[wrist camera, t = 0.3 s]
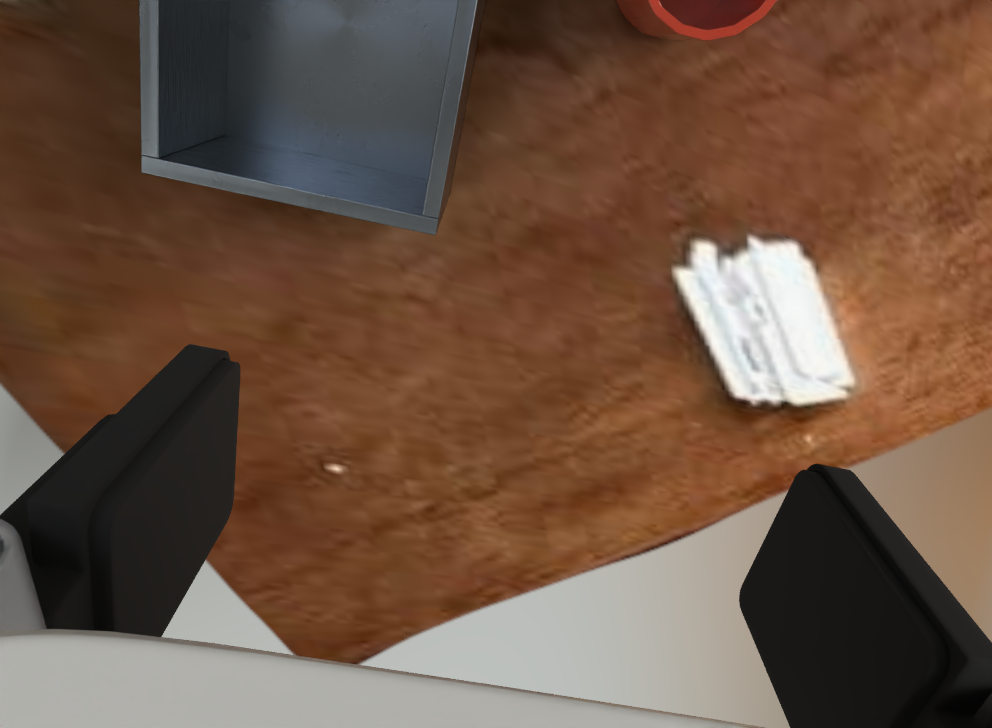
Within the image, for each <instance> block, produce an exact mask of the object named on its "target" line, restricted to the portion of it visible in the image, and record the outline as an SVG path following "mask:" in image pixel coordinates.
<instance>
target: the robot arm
mask: <svg viewBox="0 0 992 728" xmlns="http://www.w3.org/2000/svg"><path fill="white" fill-rule="evenodd" d="M239 388H240V365H239V363H238V362H233V361H230V357H229V354H228V352H227V351H223V350H218V349H213V348H207V347H202V346H197V345H191V344H189V345H188V346H186V347H185V348H184V349H183V350H182V351H181V352H180V353H179V354H178V355H177V356H176V357H175V358H174V359H172V360H171V361H170V362H169V363H168V364H167V365H166V366H165V367H164V368H163V369H162V370H161V371H160V372H159V373H158V374H157V375H156V376H155V377H154V378H153V379H152V380H151V381H150V382H149V383H148V384H147V385H146V386H145V387H144V388H143V389H142V390H140V391H139V392H138V393H137V394H136V395H135V396H134V397H133V398H132V399H131V400H130V401H129V402H128V403H127V404H126V405H125V406H124V407H123V408H122V409H121V410H120V411H119V412H118V413H117V414H112V415H107V416H106V417H104V418H103V419H102V420H100V421H99V422H98V423H97V424H96V425H95V426H94V427H93V428H92V429H91V430H90V431H89V432H88V433H87V434H85V435H84V436H83V437H82V438H81V439H80V440H79V441H78V442H77V443H76V444H75V445H74V446H73V447H72V448H71V449H70V450H69V451H67V452H66V453H65V454H64V455H63V456H62V457H61V458H60V459H59V460H58V461H57V462H56V463H55V464H54V465H53V466H52V467H51V468H50V469H49V470H47V472H45V473H44V474H43V475H42V476H41V477H40V478H39V479H38V480H37V481H36V482H35V483H34V484H33V485H32V486H31V487H29V488H28V489H27V490H26V491H25V492H24V493H23V494H22V495H21V496H20V497H19V498H18V499H17V500H16V501H15V502H14V503H13V504H12V505H10V506H9V507H8V508H7V509H6V510H5V511H4V512H3V513H2V514H1V515H0V728H763V727H758V726H751V725H745V724H739V723H733V722H726V721H721V720H714V719H708V718H702V717H696V716H689V715H682V714H676V713H670V712H663V711H656V710H651V709H644V708H637V707H632V706H625V705H619V704H612V703H606V702H600V701H592V700H587V699H580V698H574V697H567V696H560V695H554V694H548V693H541V692H534V691H528V690H521V689H515V688H509V687H503V686H495V685H489V684H483V683H476V682H469V681H463V680H456V679H450V678H442V677H436V676H429V675H423V674H416V673H409V672H403V671H396V670H389V669H383V668H376V667H369V666H362V665H356V664H349V663H342V662H336V661H329V660H322V659H316V658H309V657H302V656H295V655H289V654H282V653H275V652H269V651H262V650H255V649H249V648H242V647H235V646H228V645H221V644H215V643H207V642H198V641H189V640H181V639H172V638H163V637H161V636H162V635H163V633H164V631H165V629H166V628H167V626H168V624H169V622H170V621H171V619H172V617H173V615H174V614H175V612H176V610H177V608H178V607H179V605H180V603H181V601H182V600H183V598H184V596H185V594H186V593H187V591H188V589H189V587H190V586H191V584H192V582H193V580H194V579H195V576H196V575H197V573H198V572H199V570H200V568H201V566H202V564H203V563H204V561H205V559H206V558H207V556H208V554H209V552H210V551H211V549H212V547H213V545H214V544H215V542H216V540H217V538H218V537H219V535H220V533H221V531H222V530H223V528H224V526H225V524H226V523H227V521H228V518H229V516H230V513H231V509H232V505H233V499H234V482H235V463H236V444H237V426H238V407H239ZM739 602H740V608H741V611H742V613H743V616H744V618H745V620H746V623H747V625H748V628H749V630H750V632H751V635H752V637H753V640H754V642H755V644H756V647H757V649H758V652H759V654H760V656H761V659H762V661H763V663H764V666H765V668H766V671H767V673H768V675H769V678H770V680H771V683H772V685H773V687H774V690H775V692H776V694H777V697H778V699H779V702H780V704H781V706H782V709H783V711H784V714H785V716H786V718H787V721H788V723H789V726H790V728H992V643H991V641H990V640H989V639H988V638H987V636H986V635H985V634H984V633H983V631H982V630H981V629H980V628H979V627H978V625H977V624H976V623H975V622H974V621H973V619H972V618H971V617H970V615H969V614H968V613H967V612H966V611H965V609H964V608H963V607H962V606H961V604H960V603H959V602H958V601H957V599H956V598H955V597H954V596H953V594H952V593H951V592H950V591H949V590H948V588H947V587H946V586H945V585H944V584H943V582H942V581H941V580H940V578H939V577H938V576H937V575H936V574H935V572H934V571H933V570H932V569H931V567H930V566H929V565H928V564H927V563H926V561H925V560H924V559H923V557H922V556H921V555H920V554H919V553H918V551H917V550H916V549H915V548H914V547H913V545H912V544H911V543H910V541H909V540H908V539H907V538H906V537H905V535H904V534H903V533H902V532H901V530H900V529H899V528H898V527H897V525H896V524H895V523H894V522H893V521H892V519H891V518H890V517H889V516H888V514H887V513H886V512H885V511H884V509H883V508H882V507H881V506H880V505H879V503H878V502H877V501H876V500H875V499H874V497H873V496H872V495H871V494H870V492H869V491H868V490H867V488H866V487H865V486H864V485H863V484H862V482H861V481H860V480H859V479H858V477H857V476H856V475H855V474H854V473H853V472H852V471H851V470H846V469H841V468H836V467H831V466H826V465H820V464H814V465H811V466H810V467H809V468H808V469H807V470H802V471H800V472H799V473H798V474H797V475H796V477H795V479H794V481H793V483H792V485H791V487H790V489H789V491H788V493H787V495H786V497H785V499H784V501H783V503H782V505H781V507H780V509H779V511H778V513H777V515H776V517H775V519H774V521H773V524H772V525H771V527H770V530H769V532H768V534H767V536H766V538H765V540H764V542H763V544H762V546H761V548H760V550H759V552H758V554H757V556H756V558H755V560H754V562H753V564H752V566H751V568H750V570H749V572H748V574H747V576H746V578H745V580H744V582H743V585H742V587H741V590H740V597H739Z"/></svg>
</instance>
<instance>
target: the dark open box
mask: <svg viewBox="0 0 992 728" xmlns="http://www.w3.org/2000/svg"><path fill="white" fill-rule="evenodd" d="M485 1H486V0H139V26H140V96H141V154H142V156H141V171H142V173H146V174H151V175H155V176H160V177H165V178H169V179H174V180H179V181H183V182H188V183H193V184H197V185H202V186H207V187H211V188H216V189H221V190H225V191H230V192H235V193H239V194H244V195H249V196H253V197H258V198H263V199H267V200H272V201H277V202H281V203H286V204H291V205H296V206H300V207H305V208H310V209H314V210H319V211H324V212H328V213H333V214H338V215H342V216H347V217H352V218H356V219H361V220H366V221H370V222H375V223H380V224H384V225H389V226H394V227H398V228H403V229H408V230H412V231H417V232H422V233H426V234H431V235H436V233H437V230H438V227H439V224H440V221H441V218H442V215H443V213H444V210H445V207H446V204H447V201H448V198H449V195H450V190H451V185H452V179H453V174H454V169H455V163H456V158H457V152H458V147H459V141H460V136H461V131H462V125H463V120H464V114H465V109H466V104H467V98H468V93H469V87H470V82H471V76H472V71H473V66H474V60H475V55H476V49H477V44H478V39H479V33H480V28H481V22H482V17H483V11H484V6H485Z"/></svg>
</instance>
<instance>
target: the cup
mask: <svg viewBox="0 0 992 728" xmlns="http://www.w3.org/2000/svg"><path fill="white" fill-rule="evenodd" d="M616 1H617V3H618V6H619V8H620V10H621V11H622V13H623V15H624V16H625V17H626V19H627V20H628V21H629V22H630V23H631V24H632V25H633V26H634V27H635V28H637V29H638V30H640V31H641V32H643V33H645V34H646V35H650V36H653V37H657V38H663V39H667V40H702V41H708V40H713V39H718V38H723V37H728V36H733V35H736V34H738V33H740V32H741V31H743V30H744V29H746V28H748V27H749V26H751V25H752V24H754V23H755V22H757V21H758V20H760V19H761V18H763V17H764V16H765V15H766V14H767V12H768V11H769V10H770V8H771V7H772V6H773V5H774V3H775V2H776V1H777V0H616Z"/></svg>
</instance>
